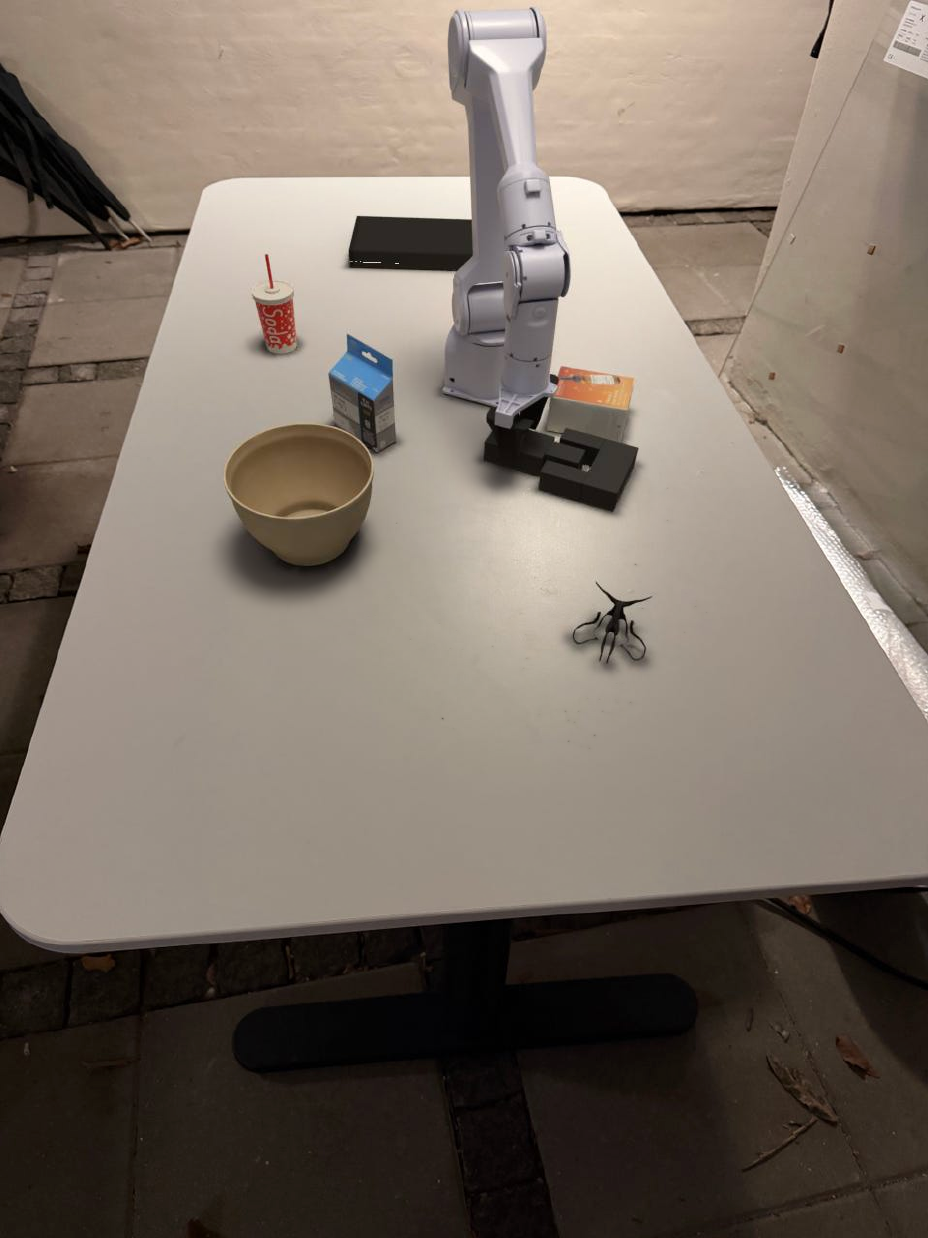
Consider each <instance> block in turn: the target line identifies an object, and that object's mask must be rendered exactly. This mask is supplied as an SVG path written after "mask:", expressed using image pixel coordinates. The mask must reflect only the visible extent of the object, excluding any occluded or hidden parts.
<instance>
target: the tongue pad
mask: <svg viewBox="0 0 928 1238" xmlns="http://www.w3.org/2000/svg"><path fill="white" fill-rule="evenodd" d="M555 439H556V437H555V436H554V435H551V434H547V433H542V432H539V431H536V430H533V429H529V430H528V431H527V432H526V434H525V437H524V439H523V442H522V446H521V450H520V454H519V456H518V459H517V460H516V462H515V463H512V462H508V461H505V460H501V459H500V455H499V451H498V446H497V442H496V438H495V436H494V433H493V431H492V430H491V431H490V432H489V435H488V436H487V437H486V439H485V440H484V441H483V442H484V444H483V461H486V462H489V463H493V464H495V465H499V466H502V467H506V468H509V469H513V470H516V471H519V472H522V473H523V472H524V473H527V474H530V475H534V476H537V477H540V472H541V470H542V468H543V466H544V465H545V463H546V461H547V460H548V461H552V462H555V463H559V464H562V465H566V466H569V467H573V468H576V469H580V470H583V465H584V464H583V461H584V455H585V450H583V449H579V448H576V447H572V446H569V445H565V444H561V443H559V441H555Z"/></svg>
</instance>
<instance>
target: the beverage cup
mask: <svg viewBox="0 0 928 1238" xmlns="http://www.w3.org/2000/svg"><path fill="white" fill-rule="evenodd" d="M264 258H265V259H264V260H265V263H266V270H267V275H268V279H266V280H263V281H259V282H257V283H256V284H254V285H253V286H252V287H251V289H250V292H251V296H252V300H254V302H255V307H256V310H257V314H258V318H259V322H260V326H261V331H262V334H263V337H264V342H265V346H266V349H267V351H268V352H270V353H272V354H276V355H285V354H286V355H287V354H288V353H292V352H294V350H296V349H297V347H298V342H297V332H296V331H297V330H296V319H295V309H294V297H295V292H294V291H295V290H294V285H293V284H292V283H290V282H289V281H286V280H284V279H273V275H272V268H271V263H270V258H269V254H268V253H266V254H264Z"/></svg>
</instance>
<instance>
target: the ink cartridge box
mask: <svg viewBox="0 0 928 1238" xmlns="http://www.w3.org/2000/svg"><path fill="white" fill-rule="evenodd" d="M363 352H364V353H366V354H368V353H369V354H370V356H371V357H372V358H373V359H375V360H376V362H375V361H374V360H372V359H370V358H369V357H368V356H366V355H364V354H363ZM393 361H394V360H393V358H390V357H389V356H387V355H385V354H384V353H382V352H380V351H378V350H377V349H375V348H373V347H372V346H370V345H368V344H366V343H365V342H364V341H361V340H360V339H358V338H356V337H354V336H352V335H351V334H349V333H346V352H345V353H344V354H343V355H342V357H340V358H339V360H338V361H337V362H336V364H334V366H332V368H331V369H330V370H329V372H328V373H327V375H328V381H329V390H330V396H331V397H330V398H331V404H332V412H333V419H334V420H333V421H334V425H335V427H336V428H339V429H342V430H344V431H346V432H348V433H350V434H352V435H353V436H355V437H356V438H358V439H359V440H360V441H361V442H362V443H363V444H364V445H365V446H366V447H367V448H370V449H371V450H373V451H374V452H375V453H380V452H382V451H383V450H385V449H386V448H388V447H389V446H392V445H393V444H394V443H396V441H397V437H396V435H397V434H396V432H397V431H396V414H395V394H394V393H395V391H394V367H393V366H394V362H393Z"/></svg>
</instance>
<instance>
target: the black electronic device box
mask: <svg viewBox="0 0 928 1238" xmlns="http://www.w3.org/2000/svg"><path fill="white" fill-rule="evenodd" d="M472 256H473V243H472V218H469V219H468V218H443V217H442V218H440V217H439V218H438V217H437V218H435V217H434V218H433V217H409V216H408V217H405V216H379V215H377V216H376V215H356V217H355V221H354V225H353V230H352V234H351V238H350V242H349V245H348V261H353V262H349V267H350V268H370V269H371V268H372V269H373V268H375V269H399V270H400V269H403V270H406V269H407V270H409V269H410V270H431V271H435V270H436V271H458V270H459V269H460V268H461V267H462V266H463V265H464V264H465V263H466V262H467V261H468V260H469V259H470V258H471V257H472ZM355 261H357V262H355ZM360 261H361V262H360ZM363 262H381V263H363ZM395 263H399V264H395Z"/></svg>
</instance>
